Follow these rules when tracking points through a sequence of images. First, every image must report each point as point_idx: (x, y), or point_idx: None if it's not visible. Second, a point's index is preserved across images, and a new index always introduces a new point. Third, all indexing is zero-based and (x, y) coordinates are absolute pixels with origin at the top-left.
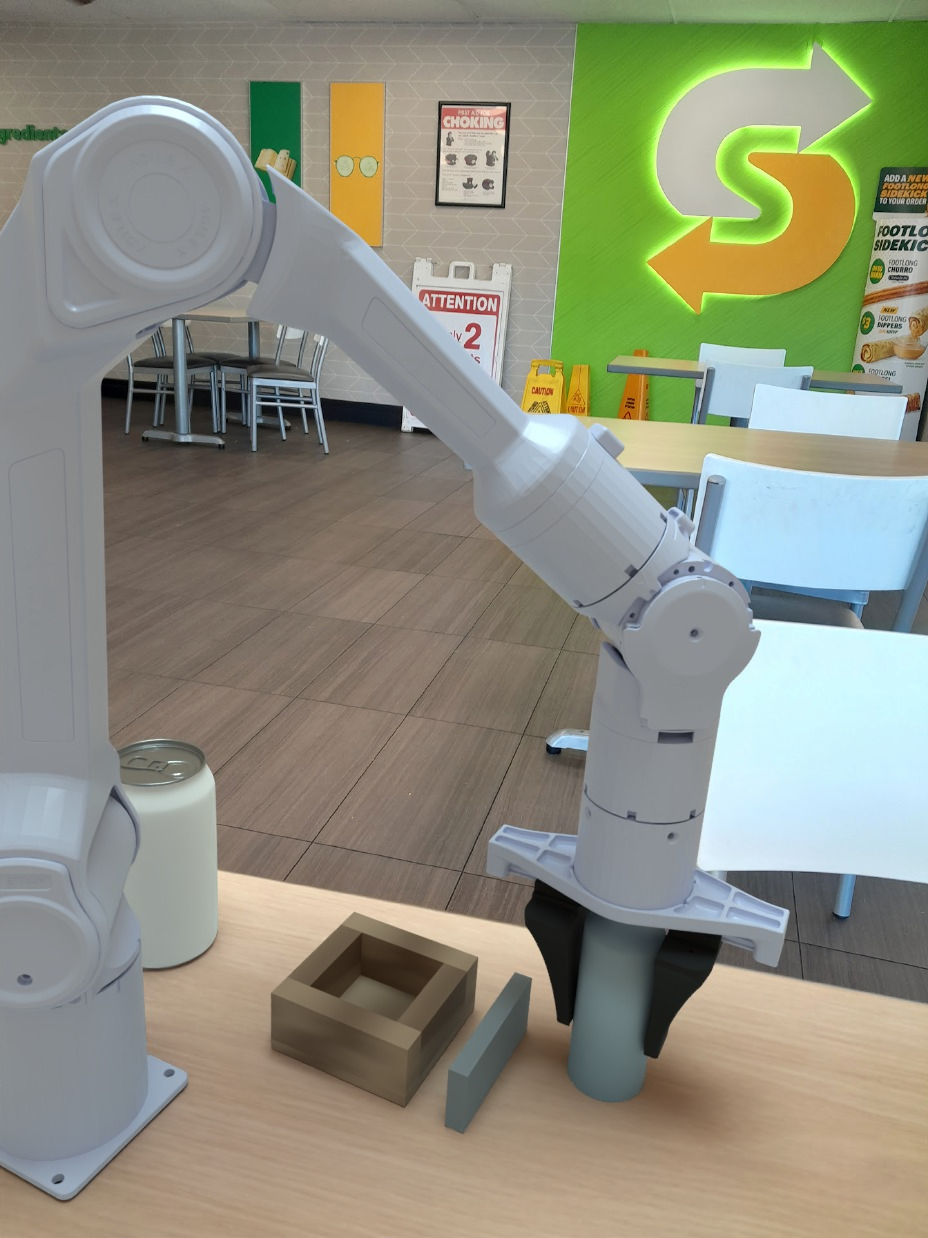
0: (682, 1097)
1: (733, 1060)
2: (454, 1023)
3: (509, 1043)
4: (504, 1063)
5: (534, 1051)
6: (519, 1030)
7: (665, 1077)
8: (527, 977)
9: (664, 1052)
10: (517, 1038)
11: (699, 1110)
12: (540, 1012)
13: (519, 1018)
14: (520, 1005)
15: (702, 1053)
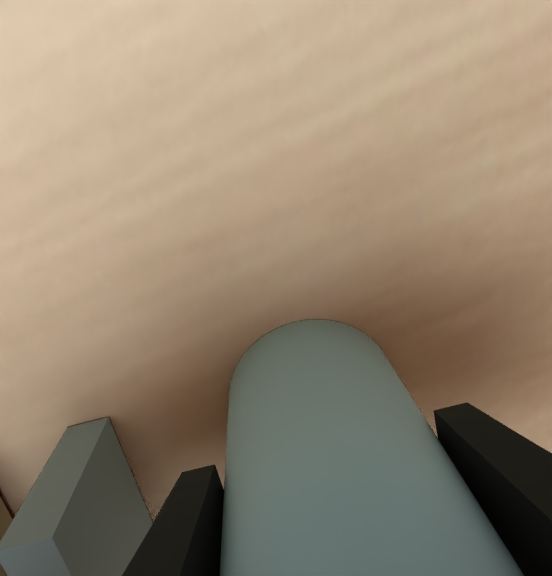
0: (471, 338)
1: (536, 151)
2: (1, 569)
3: (133, 541)
4: (147, 524)
5: (162, 445)
6: (115, 485)
7: (419, 315)
8: (40, 546)
9: (385, 250)
10: (122, 482)
11: (512, 343)
12: (85, 347)
13: (107, 526)
14: (95, 562)
15: (463, 186)
